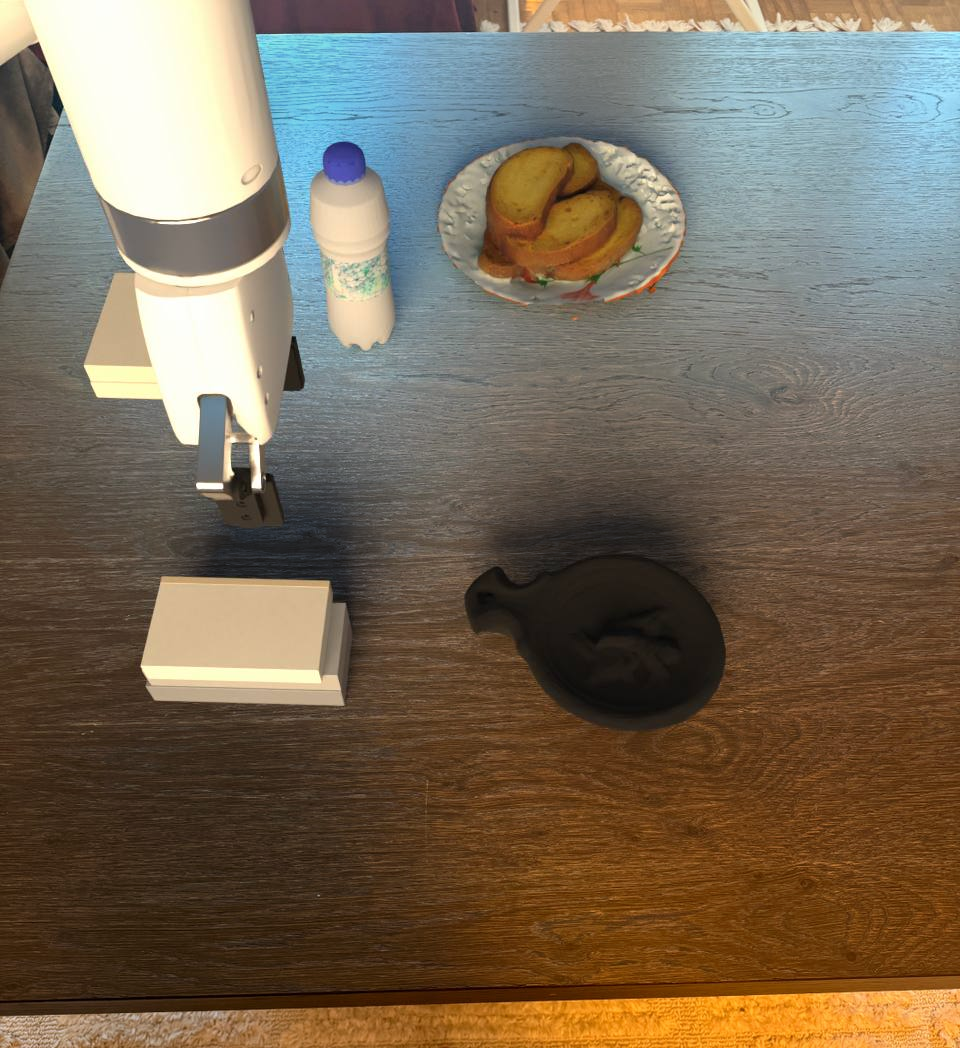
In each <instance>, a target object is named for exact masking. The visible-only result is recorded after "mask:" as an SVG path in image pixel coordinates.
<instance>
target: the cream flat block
mask: <svg viewBox="0 0 960 1048" xmlns="http://www.w3.org/2000/svg"><path fill="white" fill-rule="evenodd" d="M333 599H334V593H333V588H332V584H331V580H318V579H317V580H316V579H286V578H285V579H283V578H282V579H280V578H277V579H276V578H246V577H245V578H244V577H243V578H242V577H209V576H208V577H206V576H173V575H172V576H170V575H167V576H166V575H162V576H161V578H160V582H159V588H158V592H157V596H156V600H155V604H154V607H153V611H152V616H151V620H150V625H149V629H148V633H147V637H146V641H145V646H144V650H143V654H142V658H141V662H140V668H141V670H142V669H143V671H144V672H145V674H146V675H147V677H148V678H150V679H186V680H223V681H260V682H297V683H322V680H323V672H324V664H325V655H326V647H327V639H328V631H329V623H330V615H331V607H332V603H333Z"/></svg>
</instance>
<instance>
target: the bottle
mask: <svg viewBox="0 0 960 1048" xmlns="http://www.w3.org/2000/svg"><path fill="white" fill-rule="evenodd" d="M365 156H366V155H365V153H364V151H363V149H362V148H361V147H360V146H359V145H358V144H356V143H354V142H351V141H343V140H342V141H336V142H334V143H331V144H330V145H328V146H327V147H326V149H325V150H324V152H323V154H322V168H323V169H321V170H319V171H318V172H317V173H316V174H315V175H314V176H313V178H312V180H311V182H310V186H309V223H310V225H311V227H312V228H311V229H312V236H313V238H314V240H315V241H316V243H317V244H318V250H319V256H320V262H321V267H322V274H323V281H324V285H325V301H326V314H327V320H328V324H329V328H330V330H331V332H332V333H333V334H334V335H335V336H336V337H337V339H338V341H339V343H341V345H342V346H343V347H346V348H347V349H351V348H353V346H354V345H357V346H359V348H360V350H362V351H364V352H365V351H366V352H368V351H370V350H371V349H372V347H373V345H374V344H375V343H378V344H380V345H384V344H386V343H387V342H388V341H389V339H390V337H391V335H392V331H393V328H394V327H395V324H396V320H397V319H396V317H397V316H396V314H397V313H396V303H395V298H394V297H395V296H394V292H393V286H392V281H391V266H390V257H389V254H390V253H389V243H388V237H389V235H390V231H391V222H390V220H391V219H390V218H391V211H390V208H389V204H388V200H387V195H386V191H385V187H384V183H383V180H382V177H381V175H379V173H378V172H377V171H376V170H375V169H372V168H371V167H370V166H367V163H366V157H365Z"/></svg>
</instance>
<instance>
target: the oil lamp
mask: <svg viewBox="0 0 960 1048" xmlns="http://www.w3.org/2000/svg"><path fill="white" fill-rule="evenodd" d="M705 597H706V596H704V595H703V594H702V593H701V592H700V591H699V590H698V589H697V588H696V586H694V584H693V583H692V582H691V581H689V580H688V578H686V577H684V576H683V575H681V573H679V572H678V571H676V570H675V569H674V568H671V567H669V566H668V565H665V564H663V563H662V562H660V561H657V560H655V559H652V558H649V557H646V556H642V555H637V554H631V553H604V554H598V555H593V556H589V557H585V558H581V559H578V560H575V561H574V562H572V563H570V564H568V565H566V566H564V567H562V568H559V569H557V570H552V571H549V570H542V571H540V572H539V573H537V575H536V576H535V577H534V578H533V579H532V580H530V581H528V582H523V583H517V582H515V581H512V580H511V579H509V577H508V575H507V574H506V572H505V570H504V569H503V568H502V567H501V566H499V565H494V566H492V567H490V568H489V569H487V570H486V571H484V572H483V573H481V574H480V575H478V576H477V578H475V579H474V580H473V581H472V582H471V584H470V585H469V586H468V588H467V590H466V591H465V594H464V596H463V599H464V608H465V613H466V616H467V619H468V622H469V626H470V629H471V630H472V632H473V633H474V634H475V635H479V634H481V633H493V634H494V633H495V634H501V635H503V636H505V637H507V638H510V639H511V640H513V641H514V643H515V647H516V652H517V654H518V656H519V657H521V659H523V660H524V662H526V664H527V666H528V667H529V668H528V669H529V670H530V672H531V674H532V675H533V677H534V679H535V680H536V682H537V684H538V686H539V687H540V688H541V690H542V691H543V692H544V694H546V696H548V697H549V698H550V699H551V700H552V701H554V702H555V704H557V705H558V706H560V707H561V708H562V709H563V710H565V711H566V712H568V713H569V714H571V715H572V716H574V717H576V718H578V719H580V720H583V721H584V722H587V723H590V724H591V725H595V726H597V727H602V728H605V729H609V730H614V731H620V732H636V733H637V732H648V731H649V732H650V731H656V730H661V729H665V728H669V727H673V726H675V725H678V724H681V723H684V722H685V721H686V720H688V719H690V718H692V717H693V716H695V715H696V714H698V713H699V712H700V711H701V710H703V709H704V708H705V707H706V706H707V705H708V704H709V702H710V701H711V700H712V699H713V697H714V695H715V694H716V693H717V692H718V689H719V687H720V684H721V681H722V680H723V677H724V671H725V667H726V660H727V659H726V658H727V657H726V656H727V649H726V644H725V638H724V634H723V631H722V627H721V623H720V621H719V618H718V616H717V615H716V612H715V610H714V609H713V606H712V605H711V604H710V602H709V601H708V600H707V599H706V598H705Z"/></svg>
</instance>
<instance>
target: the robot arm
mask: <svg viewBox="0 0 960 1048" xmlns="http://www.w3.org/2000/svg"><path fill="white" fill-rule="evenodd" d="M258 42H259V41H258V37H257V32H256V27H255V22H254V16H253V10H252V5H251V0H0V67H1V66H2V65H4V64H5V63H7V62H8V61H10V60H11V59H12V58H13V57H15V56H16V55H18V54H19V53H21V52H22V51H23V50H25V49H27V48H28V47H29V46H31V45H34V44H37V43H39V45H40V47H41V51H42V54H43V56H44V58H45V61H46V64H47V66H48V69H49V72H50V74H51V76H52V79H53V83H54V85H55V87H56V91H57V92H58V95H59V98H60V100H61V103H62V105H63V108H64V111H65V113H66V117H67V119H68V121H69V124H70V126H71V129H72V133H73V135H74V137H75V140H76V142H77V145H78V148H79V150H80V153H81V156H82V159H83V161H84V164H85V166H86V168H87V171H88V174H89V176H90V179H91V182H92V184H93V187H94V190H95V192H96V195H97V198H98V201H99V203H100V206H101V208H102V211H103V213H104V216H105V219H106V221H107V224H108V226H109V229H110V232H111V234H112V237H113V239H114V242H115V244H116V247H117V250H118V252H119V255H120V256H121V258H122V259H123V261H124V262H125V264H127V266H129V267H130V268H131V270H133V271H134V273H135V277H134V284H135V292H136V299H137V304H138V310H139V315H140V320H141V325H142V330H143V334H144V338H145V342H146V346H147V350H148V354H149V357H150V361H151V364H152V367H153V371H154V374H155V377H156V380H157V384H158V387H159V390H160V393H161V396H162V399H161V400H162V402H163V405H164V408H165V412H166V414H167V417H168V420H169V423H170V425H171V428H172V431H173V432H174V435H175V437H176V438H177V439H178V440H179V442H180V443H181V444H182V445H192V446H194V445H196V446H197V463H196V479H195V480H196V482H195V483H196V484H195V485H196V490H197V493H198V494H200V495H201V496H204V497H206V499H207V500H208V501H215V502H216V505H217V507H218V510H219V513H220V515H221V517H222V520H223V522H224V523H225V524H226V525H229V526H236V527H239V528H241V529H259V528H261V527H280V526H282V525H283V524H284V520H285V511H284V508H283V505H282V501H281V498H280V495H279V491H278V487H277V484H276V481H275V476H274V474H272V473H269V472H267V471H266V470H267V467H266V466H267V465H266V446H265V444H266V443H267V442H268V441H270V440H271V438H272V437H273V436H274V434H275V432H276V429H277V425H278V420H279V414H280V409H281V404H282V398H283V394H284V393H283V392H300V391H302V390H303V389H305V384H306V378H305V373H304V369H303V363H302V358H301V353H300V349H299V344H298V340H297V335H293V330H294V319H295V317H294V315H295V314H294V313H295V312H294V311H295V310H294V309H295V308H294V299H293V291H292V286H291V279H290V274H289V269H288V265H287V260H286V257H285V256H286V255H285V251H284V245H285V243H286V242H287V240H288V237H289V235H290V232H291V227H292V217H291V210H290V206H289V200H288V195H287V188H286V185H285V184H286V183H285V179H284V178H285V177H284V172H283V168H282V163H281V162H282V161H281V158H280V152H279V147H278V142H277V137H276V131H275V126H274V121H273V116H272V111H271V105H270V100H269V94H268V89H267V84H266V78H265V73H264V70H263V64H262V59H261V53H260V48H259V43H258ZM233 416H235V420H236V423H237V424H239V426H240V427H233V419H234V418H233ZM235 444H236V445H239V444H240V445H248V457H249V458H248V459H249V467H244V466H242V467H239V466H238V467H237V466H232V464H231V463H232V461H231V458H232V445H235Z"/></svg>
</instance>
